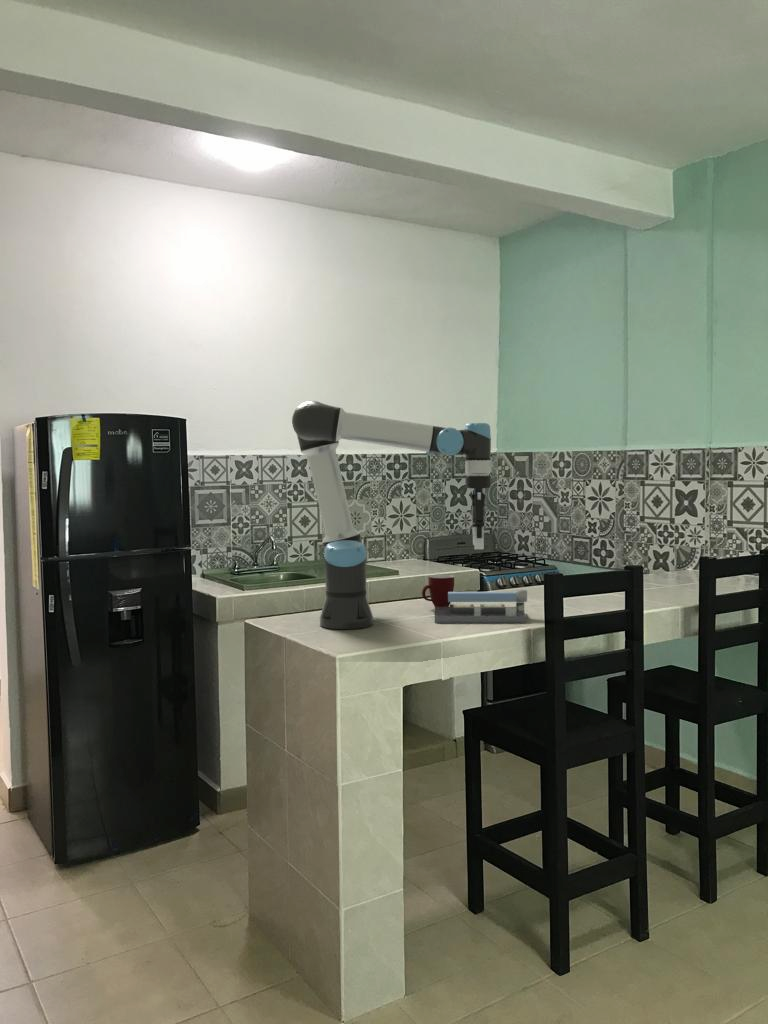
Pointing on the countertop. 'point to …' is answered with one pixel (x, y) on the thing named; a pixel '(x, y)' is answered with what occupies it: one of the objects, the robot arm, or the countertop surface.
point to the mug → (439, 589)
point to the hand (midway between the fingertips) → (478, 547)
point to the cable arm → (488, 596)
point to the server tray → (480, 613)
